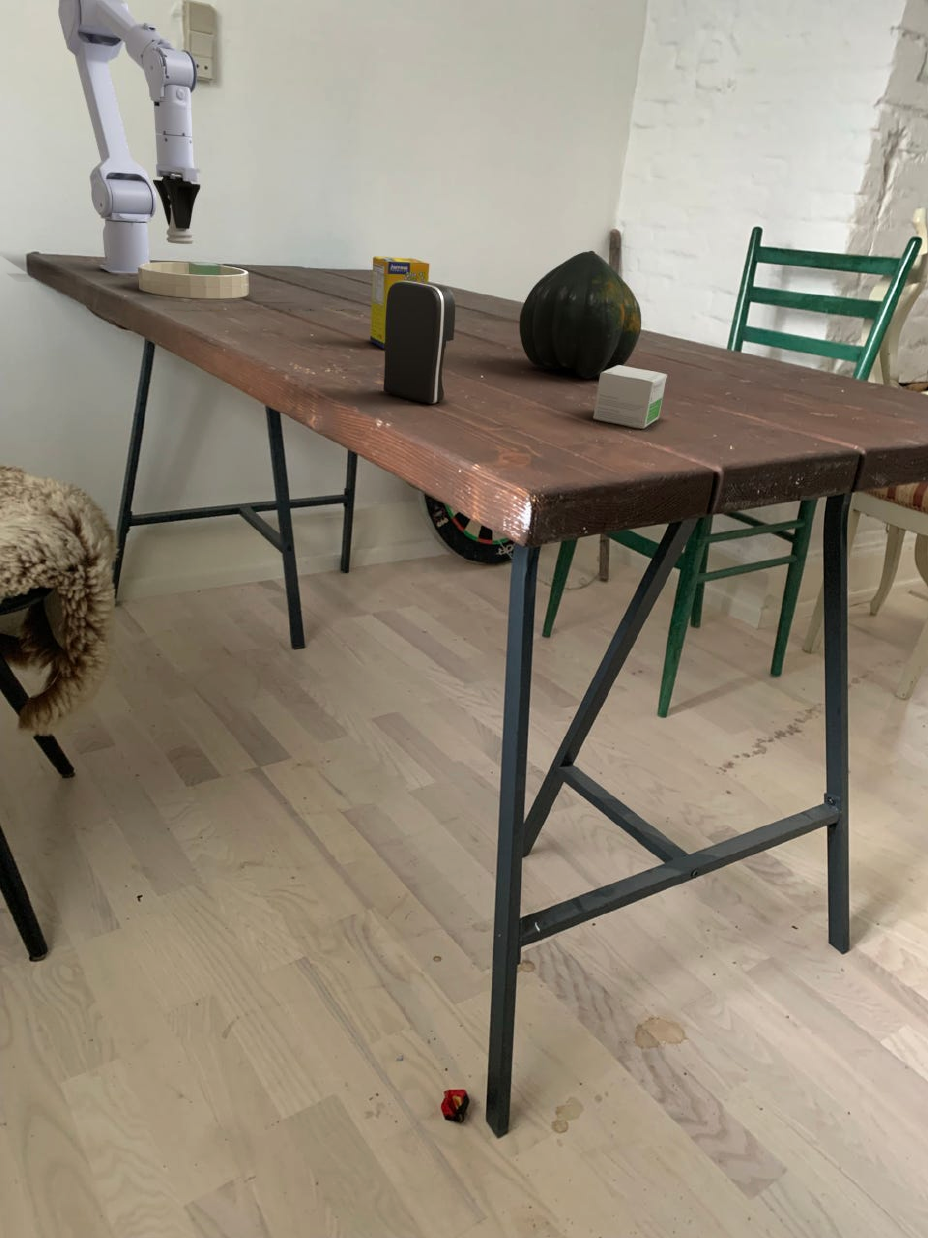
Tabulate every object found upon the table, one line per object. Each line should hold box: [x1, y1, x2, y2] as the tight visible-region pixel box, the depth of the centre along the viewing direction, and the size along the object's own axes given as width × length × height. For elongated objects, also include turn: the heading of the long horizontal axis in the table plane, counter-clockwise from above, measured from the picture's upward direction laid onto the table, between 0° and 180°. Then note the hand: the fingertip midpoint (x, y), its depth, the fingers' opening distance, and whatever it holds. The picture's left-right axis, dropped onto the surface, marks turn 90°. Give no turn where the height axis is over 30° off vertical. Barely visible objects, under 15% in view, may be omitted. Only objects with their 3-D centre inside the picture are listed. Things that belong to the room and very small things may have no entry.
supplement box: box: [369, 255, 430, 350], centre depth 119 cm, size 6×6×11 cm
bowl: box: [137, 261, 250, 300], centre depth 148 cm, size 17×17×4 cm
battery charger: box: [383, 281, 456, 404], centre depth 93 cm, size 7×4×11 cm, turn 52°
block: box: [188, 261, 221, 276], centre depth 151 cm, size 4×4×4 cm
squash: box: [519, 250, 642, 380], centre depth 113 cm, size 14×15×15 cm
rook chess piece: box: [166, 195, 194, 245], centre depth 151 cm, size 4×4×8 cm
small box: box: [592, 365, 668, 430], centre depth 93 cm, size 6×6×5 cm
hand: (178, 227), depth 152 cm, fingers closed on rook chess piece, 3 cm apart
